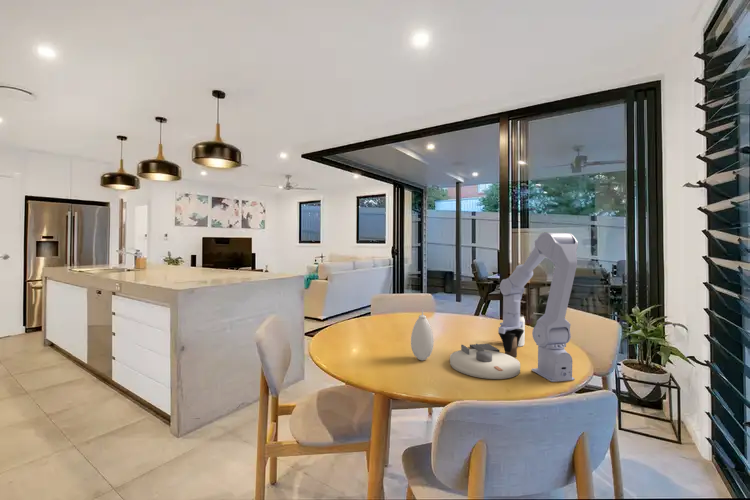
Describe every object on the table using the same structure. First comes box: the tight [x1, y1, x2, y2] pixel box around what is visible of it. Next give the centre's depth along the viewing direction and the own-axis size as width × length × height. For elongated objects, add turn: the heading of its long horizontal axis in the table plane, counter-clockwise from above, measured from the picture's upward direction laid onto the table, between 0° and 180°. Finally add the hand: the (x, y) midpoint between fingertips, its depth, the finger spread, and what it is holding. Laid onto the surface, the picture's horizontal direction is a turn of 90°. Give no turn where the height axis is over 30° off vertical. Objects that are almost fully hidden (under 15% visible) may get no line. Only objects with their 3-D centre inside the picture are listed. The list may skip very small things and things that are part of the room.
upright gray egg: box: [410, 308, 435, 361], centre depth 119 cm, size 8×8×18 cm
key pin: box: [504, 336, 518, 358], centre depth 123 cm, size 4×4×7 cm
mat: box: [469, 343, 501, 352], centre depth 130 cm, size 8×8×1 cm
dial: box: [449, 343, 521, 380], centre depth 113 cm, size 22×22×4 cm
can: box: [517, 313, 526, 348], centre depth 137 cm, size 6×6×12 cm
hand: (510, 350), depth 123 cm, fingers closed on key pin, 4 cm apart
